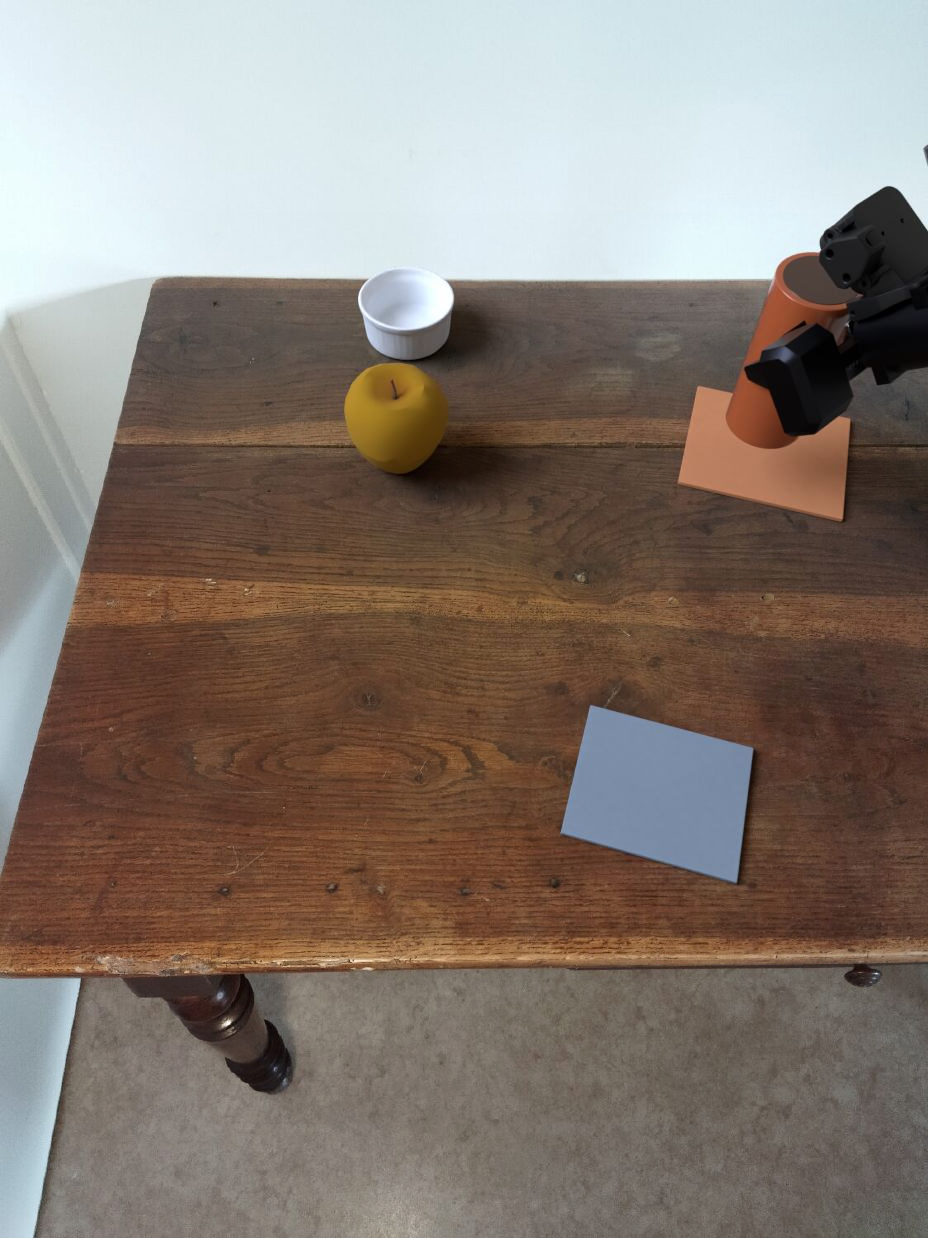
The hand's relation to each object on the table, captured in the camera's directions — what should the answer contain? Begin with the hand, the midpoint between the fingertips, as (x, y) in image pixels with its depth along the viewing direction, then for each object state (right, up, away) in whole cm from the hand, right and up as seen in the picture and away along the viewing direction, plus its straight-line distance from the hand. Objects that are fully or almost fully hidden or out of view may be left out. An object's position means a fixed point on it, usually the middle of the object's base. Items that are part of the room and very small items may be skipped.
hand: (774, 353), depth 67 cm
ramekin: (-29, +7, +18) cm, 35 cm away
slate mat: (-10, -32, -5) cm, 34 cm away
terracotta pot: (+1, -4, +5) cm, 6 cm away
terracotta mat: (+3, -5, +11) cm, 13 cm away
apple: (-29, -6, +10) cm, 32 cm away
